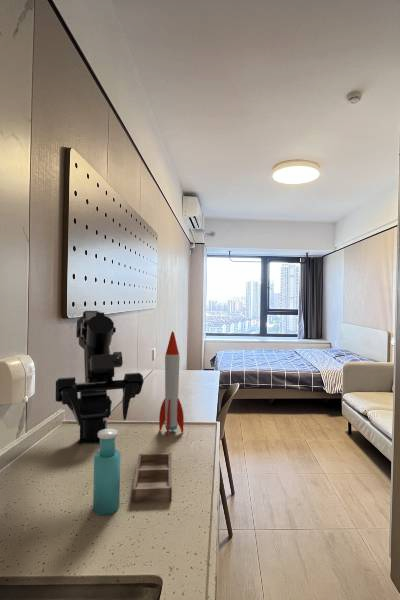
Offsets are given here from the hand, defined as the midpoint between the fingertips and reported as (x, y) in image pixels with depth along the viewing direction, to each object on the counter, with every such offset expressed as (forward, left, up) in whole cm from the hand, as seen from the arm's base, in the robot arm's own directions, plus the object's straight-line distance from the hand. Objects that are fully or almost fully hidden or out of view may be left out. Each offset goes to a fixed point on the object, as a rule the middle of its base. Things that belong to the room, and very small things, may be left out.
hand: (103, 422), depth 72 cm
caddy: (+11, +1, -13) cm, 17 cm away
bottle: (+2, -8, -13) cm, 16 cm away
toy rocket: (+15, +28, -14) cm, 35 cm away
